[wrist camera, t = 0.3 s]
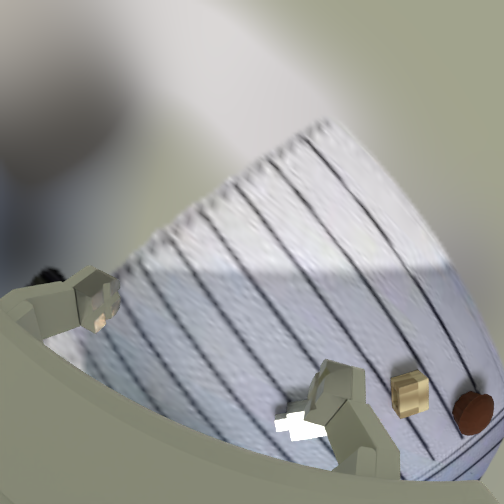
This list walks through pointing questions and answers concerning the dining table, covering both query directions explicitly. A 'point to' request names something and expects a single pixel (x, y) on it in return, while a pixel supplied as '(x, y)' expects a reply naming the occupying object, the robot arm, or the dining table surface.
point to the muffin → (473, 412)
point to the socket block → (410, 393)
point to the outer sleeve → (301, 422)
